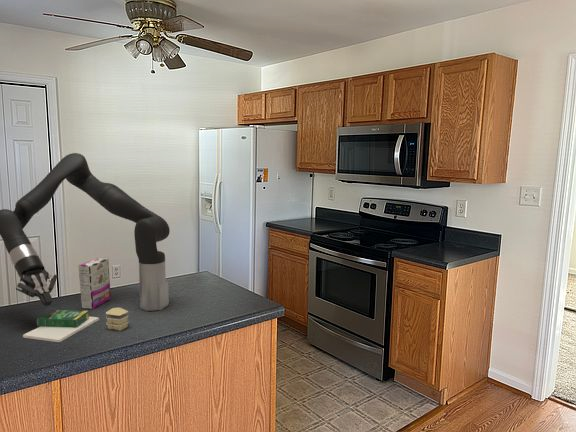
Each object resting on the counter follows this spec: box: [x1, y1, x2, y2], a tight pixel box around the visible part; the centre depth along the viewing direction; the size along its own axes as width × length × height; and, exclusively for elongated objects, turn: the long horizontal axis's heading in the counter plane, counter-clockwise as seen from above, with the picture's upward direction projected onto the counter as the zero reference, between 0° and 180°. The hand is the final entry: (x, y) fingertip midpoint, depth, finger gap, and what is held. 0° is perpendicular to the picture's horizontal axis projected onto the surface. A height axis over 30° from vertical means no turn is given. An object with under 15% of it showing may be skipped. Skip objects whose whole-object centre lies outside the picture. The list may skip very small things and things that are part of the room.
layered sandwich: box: [105, 307, 130, 331], centre depth 138 cm, size 10×9×6 cm
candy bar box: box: [78, 257, 112, 310], centre depth 157 cm, size 11×5×16 cm, turn 168°
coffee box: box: [36, 309, 90, 327], centre depth 139 cm, size 8×3×13 cm
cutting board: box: [22, 315, 100, 343], centre depth 136 cm, size 13×18×1 cm
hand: (48, 304), depth 135 cm, fingers closed
